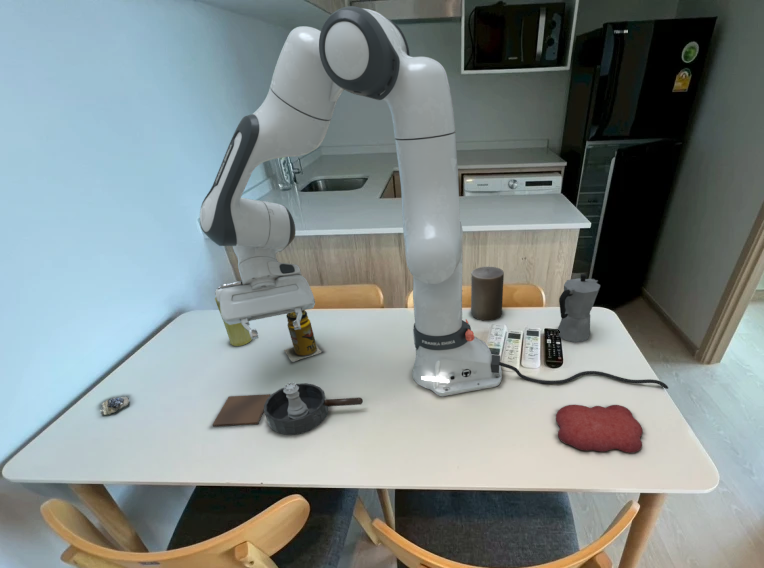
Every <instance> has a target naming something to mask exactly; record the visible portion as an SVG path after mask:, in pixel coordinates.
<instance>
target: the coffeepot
mask: <svg viewBox="0 0 764 568" xmlns="http://www.w3.org/2000/svg"><path fill="white" fill-rule="evenodd" d="M587 277H588V274H585V273H581V274H580V278H579V277H578V278H571V279H567V280H566V281H565V283H564V284H563V291H562V293H561V294H560V296H559V298H558V304H559V313H560V318H561V320H560V322H559V325H558V328H557V331H558V330H559V331H560V333H559V335H558V337H559V338H560V339H562V340H564V341H566V342H571V343H582V342H585V341H587V340H588V339H589V337H590V335H591V312H592V309H593V307H594V304H595V302H596V299H597V296H598V295H599V294H598V293H599V291H600V288H601V284H599V283H598V282H599V280H598V279H595V278H587Z"/></svg>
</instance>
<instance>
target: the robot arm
mask: <svg viewBox="0 0 764 568" xmlns="http://www.w3.org/2000/svg"><path fill="white" fill-rule="evenodd" d="M410 54H411V53H410V47H409V44H408V40H407V38H406V36H405V34H404V32H403V31H402V29H401V28H400V27H399V26H398V25H397V23H395V22H394V21H393V20H391V19H390V18H387V17H385V15H383V14H381V12H377V11H376V10H373V9H369V8H363V7H359V6H355V5H348V6H343V7H341V8H338V9H336V10H335V11H333V12H332V13H331V14H330V15H329V16H328V17H327V18H326V20H325V21H324V23H323V25H322V27H321V30H320V29H318V28H315V27H312V26H306V25H304V26H302V25H301V26H296V27H294V28H293V29H291V31H290V32H289V34H288V35H287V38H286V40H285V41H284V44H283V46H282V48H281V51H280V53H279V55H278V59H277V61H276V64H275V67H274V70H273V74H272V77H271V80H270V81H271V82H270V85H269V89H268V92H267V94H266V97H265V99H263V101H262V103H261V105H260V106H259V107H258V108H257V109H256V110H255V111H254V112H253V113H251V114H247V115H244V116H243V117H242V118H241V120H240V121H239V123H238V125H237V126H236V129H235V130H234V132H233V135H232V137H231V139H230V141H229V144H228V147H227V149H226V151H225V154H224V155H223V159H222V162H221V164H220V166H219V169H218V171H217V172H216V173H217V174H216V175H215V178H214V180H213V183H212V185H211V188H210V190H209V191H208V193H206V196H205V197H204V198H203V201H202V203H201V206H200V210H199V225H200V228H201V232H203V233H204V235H205V236H206V237H207V238H208V239H209V240H211V241H212V242H213V243H214V244H216V245H217V246H219V247H232V249H233V253H234V254H235V256H236V258H237V269H238V272H239V276H240V280H238V281H233V282H229V283H221V284H220V286H217V288H216V289H215V291H214V295H215V298H216V299H217V301H218V302H219V303H220V310H221V314H220V317H221V316H222V317H221V320H222V321H223V320H224V321H225V322H226V323H227V324H229V325H232V324H237V323H242V325H243V327H244V328H245V329H246V330H247V331H249V333H250V337H251V339H252V340H256V339H259V335H258V330H257V328H251V327H250V325H251V324H250V322H252V321H257V320H262V319H266V318H267V319H268V318H272V317H277V316H283V315H287V313H292V312H295V313H296V316H297V318H296V321H292V322H293V326H294V329H295V330H298V329H301V326H300V320H301V317H302V310H305V311H308V310H312V309H314V307H315V305H316V300H315V296H314V293H313V290H312V288H311V286H310V284H309V282H308V280H307V278H306V277H304V276H303V274H302V270H301V267H300V266H299V265H298V264H296V263H287V262H280V261H279V260H278V259H277V254H278V253H281V252H282V251H284V250H285V249H286V248H288V246H290V244H291V243H292V242H293V241H294V239H295V238H296V224H295V220H294V217H293V215H292V214H291V212H290V210H289V209H288V208H287V207H286V206H285V205H284V204H280V203H276V202H271V201H267V200H257V199H253V198H247V197H242V196H243V194H244V191H245V189H246V187H247V185H248V182H249V181H250V178H251V176H252V174H253V172H254V170H255V169H256V168H257V167H258V166H260V165H262V164H264V163H265V162H268V161H272V160H276V159H281V158H290V157H301V156H305V155H309V154H310V153H313V152H314V151H315V150H317V149H318V148H319V147H320V146H321V145H322V143H323V141H324V140H325V137H326V136H327V133H328V131H329V128H330V125H331V122H332V119H333V115H334V112H335V109H336V106H337V102H338V100H339V99H340V96H341V94H342V93H343V92H344V91H346V92H348V93H350V94H352V95H355V96H361V97H365V98H368V99H372V100H376V101H382V100H383V101H384V102H385V103H386V105H387V107H388V109H389V111H390V112H389V113H390V117H391V121H392V122H391V123H392V128H393V137H394V144H395V150H396V151H395V152H396V158H397V167H398V175H399V180H400V181H399V182H400V193H401V194H400V195H401V217H402V218H401V219H402V232H403V244H404V254H405V262H406V266H407V269H408V271H409V273H410V274H411V276H412V281H413V282H412V299H413V300H412V302H413V314H414V323H413V329H412V334H413V335H412V336H413V344H414V348H415V358H414V365H413V369H412V373H411V376H412V379H413V380H414V382H415V383H416V384H417V385H419V386H420V387H422V388H424V389H426V390H430V391H432V392H433V393H434V394H435V395H437V396H439V397H447V396H452V395H457V394H458V395H459V394H463V393H469V392H474V391H479V390H486V389H491V388H496V387H498V386H500V384H501V382H502V378H503V372H502V371H503V370H502V367H503V368H506V369H509V370H512V371H513V372H515V373H516V375H517V376H518V377H519V378H520V379H523V380H525V381H528V382H532V383H536V384H541V385H563V384H566V383H569V382H572V381H573V380H576V379H577V378H580V377H582V376H588V375H595V376H596V375H597V376H603V377H605V378H610V379H613V380H616V381H620V382H623V383H629V384H656V385H659V386H661V387H662V389H663V388H664V390H665V389H666V390H669V386H668V385H667V383H664V382H663V381H660V380H657V379H651V378H650V379H648V378H647V379H630V378H625V377H621V376H617V375H614V374H611V373H607V372H603V371H599V370H598V371H597V370H586V371H585V370H584V371H580V372H578V373H575V374H574V375H572V376H570V377H567V378H565V379H558V380H557V379H556V380H543V379H542V380H541V379H537V378H532V377H529V376H526V375H524V374H523V373H521V371H520V370H519V369H518V368H517V367H515V366H514V365H511V364H509V363H504V362H502V361H501V355H500V354H499V355H498V354H492V352H491V349H490V347H489V345H488V344H487V343H486V342H485V341H484V340H482V339H480V338H479V337H477V336H475V335H474V334H475V333H474V331H473V330H472V328H471V327H472V326H471V324H469V321H468V319H467V318H465V320H463V253H464V252H463V249H464V247H463V246H464V245H463V244H464V239H463V237H464V236H463V235H464V234H463V233H464V232H463V231H464V230H463V225H462V221H461V216H460V215H461V214H460V213H461V211H460V185H459V183H460V181H459V166H458V150H457V149H458V147H457V133H456V130H457V129H456V119H455V118H456V117H455V109H454V103H453V97H452V91H451V87H450V82H449V78H448V74H447V71H446V69H445V68H444V66H443V65H442V63H440V62H439V61H437V60H436V59H434V58H431V57H428V56H411V55H410Z"/></svg>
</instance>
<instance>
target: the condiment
mask: <svg viewBox="0 0 764 568" xmlns="http://www.w3.org/2000/svg"><path fill="white" fill-rule="evenodd" d="M296 318H297V316H296V313H295V312H292V313H287V314H286V319H287V329H288V332H289V337H290V339H291V343H292V347H289V348H286V349H284V350H283V351H284V352H285V354H286V356H287V357H288V358H289V360H290V361H291V363H294V362H298V361H299V360H302V359H306V358H309V357H312V356H313V357H314V356H316V355H319V354H322V351H321V349H320V348H319V347H318V345H317V343H316V339H315V334H314V330H313V327H312V322H311V319H310V318H309V316H308V312H307V310H302V317H301V320H300V326H301V329H298V330H295V329H294V326H293V322H292V321H296Z"/></svg>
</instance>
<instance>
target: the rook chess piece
mask: <svg viewBox="0 0 764 568" xmlns="http://www.w3.org/2000/svg"><path fill="white" fill-rule="evenodd" d="M296 384H297V383H295V382H288V383H286V384H285V385H284V386H283V388H284V390H283V391H284V393H285V394H287V395H286V397H287V398H288V401H289V406H288V409H287V411H288V416H289V417H290V418H292V419H295V418H299V417H303V416H305V415H306V414H307V413H308V408H307V406H306V404H305V403H304V402H303V401H301V399H300V397H299V392H298V389H299V387H298V386H297V385H296Z"/></svg>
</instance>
